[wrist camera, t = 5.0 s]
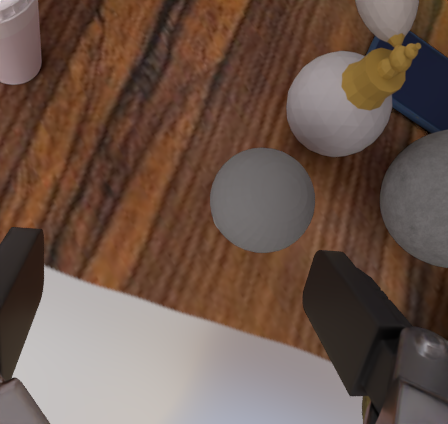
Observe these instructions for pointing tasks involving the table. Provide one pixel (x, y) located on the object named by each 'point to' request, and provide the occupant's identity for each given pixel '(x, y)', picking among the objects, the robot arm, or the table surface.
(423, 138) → the decorative ball
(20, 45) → the smoothie
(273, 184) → the light bulb
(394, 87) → the perfume bottle
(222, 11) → the table surface
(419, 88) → the smartphone
